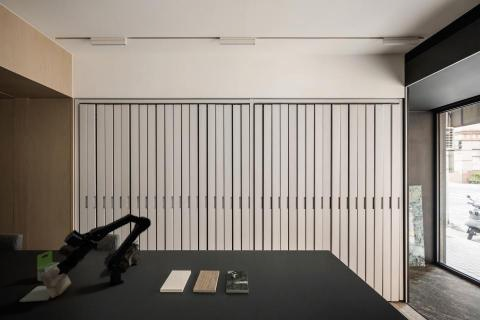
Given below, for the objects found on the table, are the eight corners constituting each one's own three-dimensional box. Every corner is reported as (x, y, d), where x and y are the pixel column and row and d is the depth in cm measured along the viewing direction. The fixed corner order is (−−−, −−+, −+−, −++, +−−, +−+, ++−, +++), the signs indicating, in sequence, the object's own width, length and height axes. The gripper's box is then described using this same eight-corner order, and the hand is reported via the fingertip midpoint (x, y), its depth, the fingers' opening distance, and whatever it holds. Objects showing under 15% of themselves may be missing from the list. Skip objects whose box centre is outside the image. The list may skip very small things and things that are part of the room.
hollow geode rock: (119, 282, 167) (137, 264, 166) (102, 267, 167) (120, 248, 166) (138, 262, 195) (153, 246, 194) (124, 249, 195) (139, 233, 194)
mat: (62, 285, 153) (62, 284, 153) (47, 300, 138) (46, 298, 138) (37, 287, 152) (37, 286, 152) (19, 302, 137) (19, 300, 137)
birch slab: (71, 283, 152) (60, 263, 151) (60, 294, 140) (48, 272, 140) (64, 287, 152) (53, 266, 151) (52, 298, 140) (40, 276, 139)
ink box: (45, 282, 158) (44, 256, 158) (36, 281, 159) (36, 256, 159) (60, 274, 168) (59, 250, 168) (52, 273, 169) (51, 249, 169)
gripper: (77, 235, 155) (55, 256, 154) (60, 246, 137) (35, 270, 136) (93, 249, 156) (72, 270, 155) (79, 261, 138) (54, 286, 137)
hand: (59, 274), depth 146 cm, fingers closed
